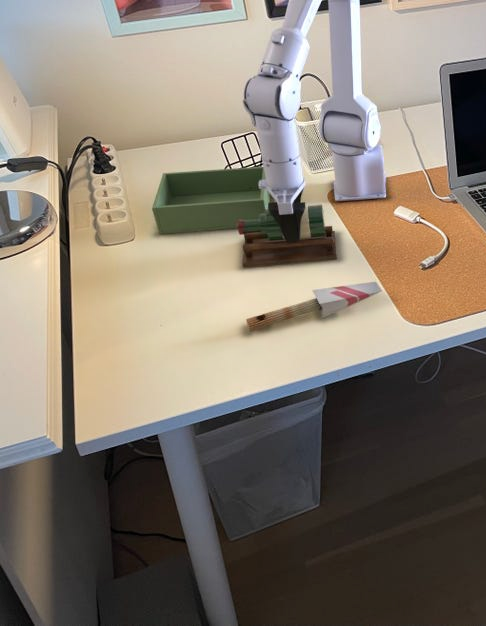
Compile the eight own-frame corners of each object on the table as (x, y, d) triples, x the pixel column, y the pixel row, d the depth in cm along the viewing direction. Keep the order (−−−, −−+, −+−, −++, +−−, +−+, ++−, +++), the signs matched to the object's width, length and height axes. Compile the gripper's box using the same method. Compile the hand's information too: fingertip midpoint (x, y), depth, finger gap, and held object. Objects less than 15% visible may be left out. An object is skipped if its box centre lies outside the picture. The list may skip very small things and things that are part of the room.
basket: (270, 190, 138) (266, 166, 134) (268, 225, 127) (263, 199, 124) (169, 198, 134) (163, 173, 131) (159, 234, 124) (151, 208, 121)
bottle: (325, 226, 123) (321, 198, 119) (326, 242, 118) (322, 214, 115) (242, 233, 120) (236, 205, 117) (240, 249, 116) (234, 221, 113)
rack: (335, 234, 125) (333, 219, 124) (337, 259, 119) (335, 244, 117) (245, 242, 123) (242, 226, 121) (243, 267, 117) (239, 252, 115)
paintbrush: (382, 285, 108) (248, 324, 101) (384, 299, 110) (252, 339, 103) (373, 271, 111) (242, 309, 104) (375, 286, 113) (246, 324, 106)
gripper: (255, 137, 116) (269, 211, 124) (251, 178, 104) (266, 257, 113) (300, 134, 117) (311, 208, 125) (301, 174, 106) (312, 253, 114)
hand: (292, 231), depth 119 cm, fingers closed on bottle, 5 cm apart
